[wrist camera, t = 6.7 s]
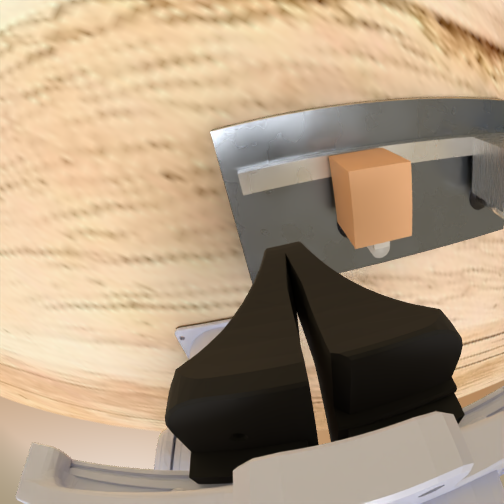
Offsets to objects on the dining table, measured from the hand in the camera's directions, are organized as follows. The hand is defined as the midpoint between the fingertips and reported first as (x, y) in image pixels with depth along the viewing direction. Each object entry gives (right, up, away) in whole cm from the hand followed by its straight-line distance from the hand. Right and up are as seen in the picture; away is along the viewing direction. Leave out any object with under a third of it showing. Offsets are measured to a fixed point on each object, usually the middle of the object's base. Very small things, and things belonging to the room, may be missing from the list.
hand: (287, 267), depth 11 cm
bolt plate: (+9, +6, +9) cm, 14 cm away
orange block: (+6, +4, +8) cm, 10 cm away
